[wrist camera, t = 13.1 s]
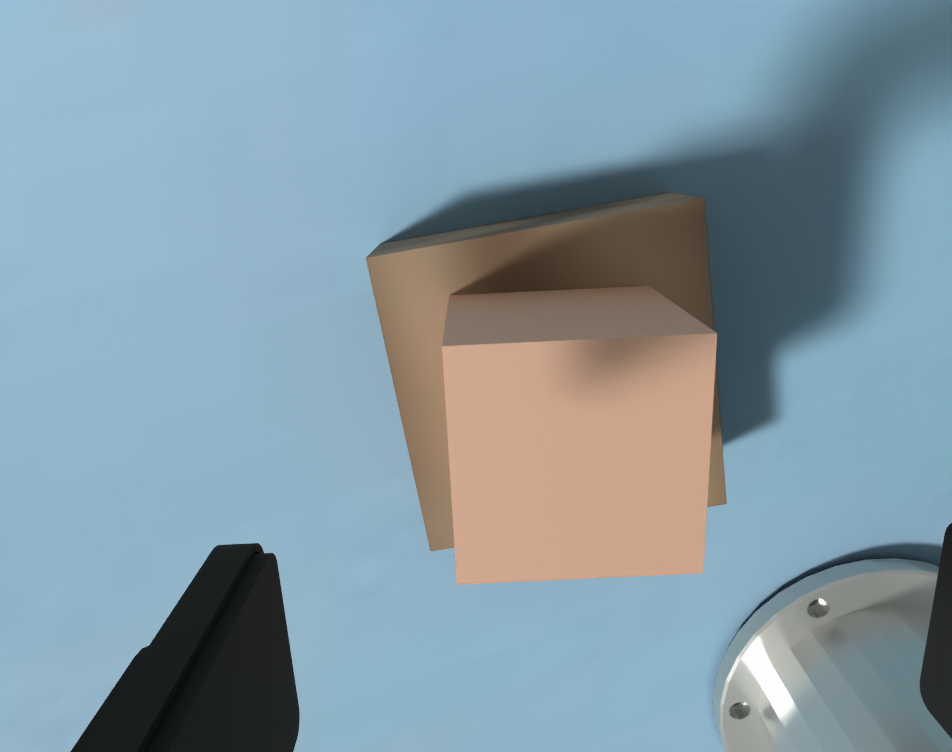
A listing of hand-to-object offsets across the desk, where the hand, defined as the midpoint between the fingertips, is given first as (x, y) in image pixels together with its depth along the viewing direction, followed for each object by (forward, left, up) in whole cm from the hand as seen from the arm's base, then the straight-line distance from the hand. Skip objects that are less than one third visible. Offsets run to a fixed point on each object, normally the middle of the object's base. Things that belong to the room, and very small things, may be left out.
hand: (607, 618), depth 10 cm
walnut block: (-1, +1, -16) cm, 16 cm away
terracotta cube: (-1, +1, -12) cm, 12 cm away
